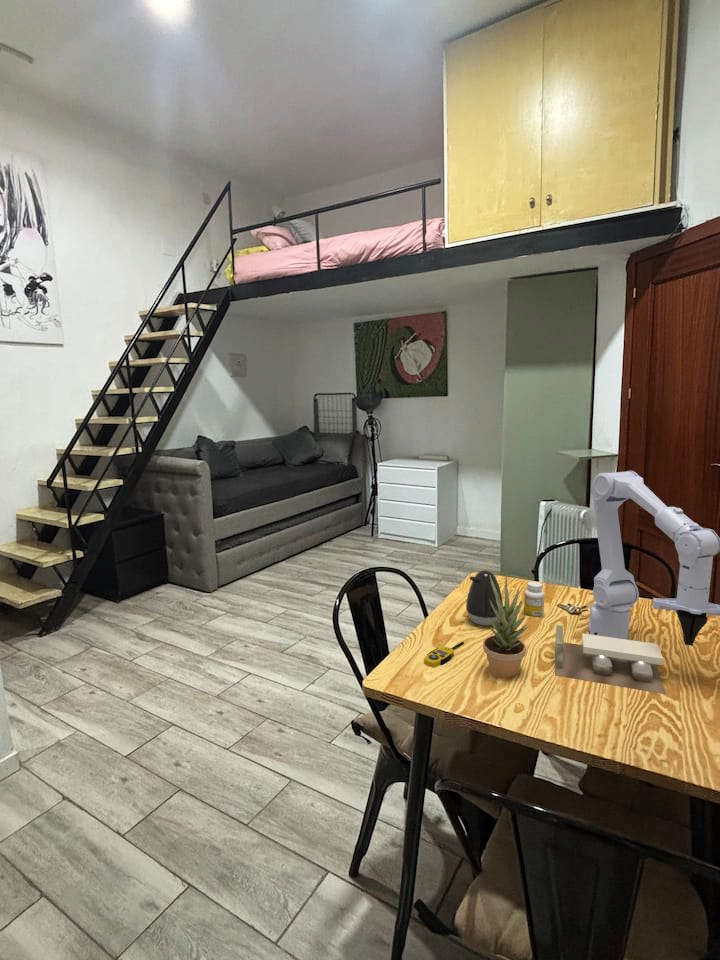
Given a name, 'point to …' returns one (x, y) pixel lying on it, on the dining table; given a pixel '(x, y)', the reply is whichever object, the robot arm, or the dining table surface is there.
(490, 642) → the potted plant
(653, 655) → the slab
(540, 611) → the supplement bottle
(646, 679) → the roller
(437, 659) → the yellow walkie-talkie
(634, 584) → the robot arm
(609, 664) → the roller
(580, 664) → the board
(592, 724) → the dining table surface
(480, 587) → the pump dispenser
